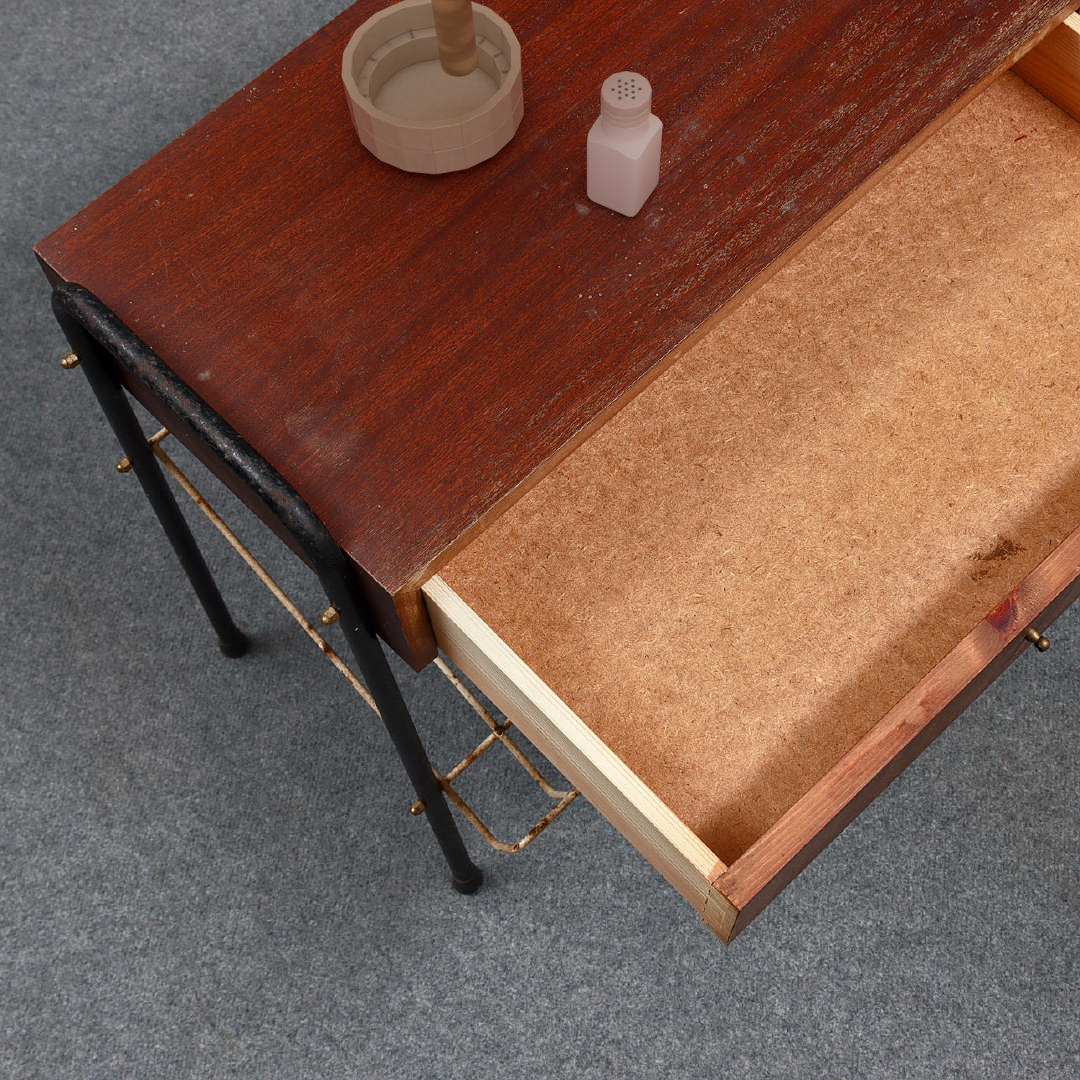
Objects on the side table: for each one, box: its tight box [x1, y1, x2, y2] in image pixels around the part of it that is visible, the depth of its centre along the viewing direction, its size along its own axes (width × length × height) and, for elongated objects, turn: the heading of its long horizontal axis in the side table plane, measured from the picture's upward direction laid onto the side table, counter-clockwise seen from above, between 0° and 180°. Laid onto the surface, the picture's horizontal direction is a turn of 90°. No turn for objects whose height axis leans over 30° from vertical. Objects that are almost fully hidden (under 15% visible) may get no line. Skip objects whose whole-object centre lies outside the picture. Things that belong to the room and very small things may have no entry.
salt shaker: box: [586, 70, 664, 218], centre depth 84 cm, size 4×4×10 cm
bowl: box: [340, 0, 525, 175], centre depth 90 cm, size 12×13×5 cm
